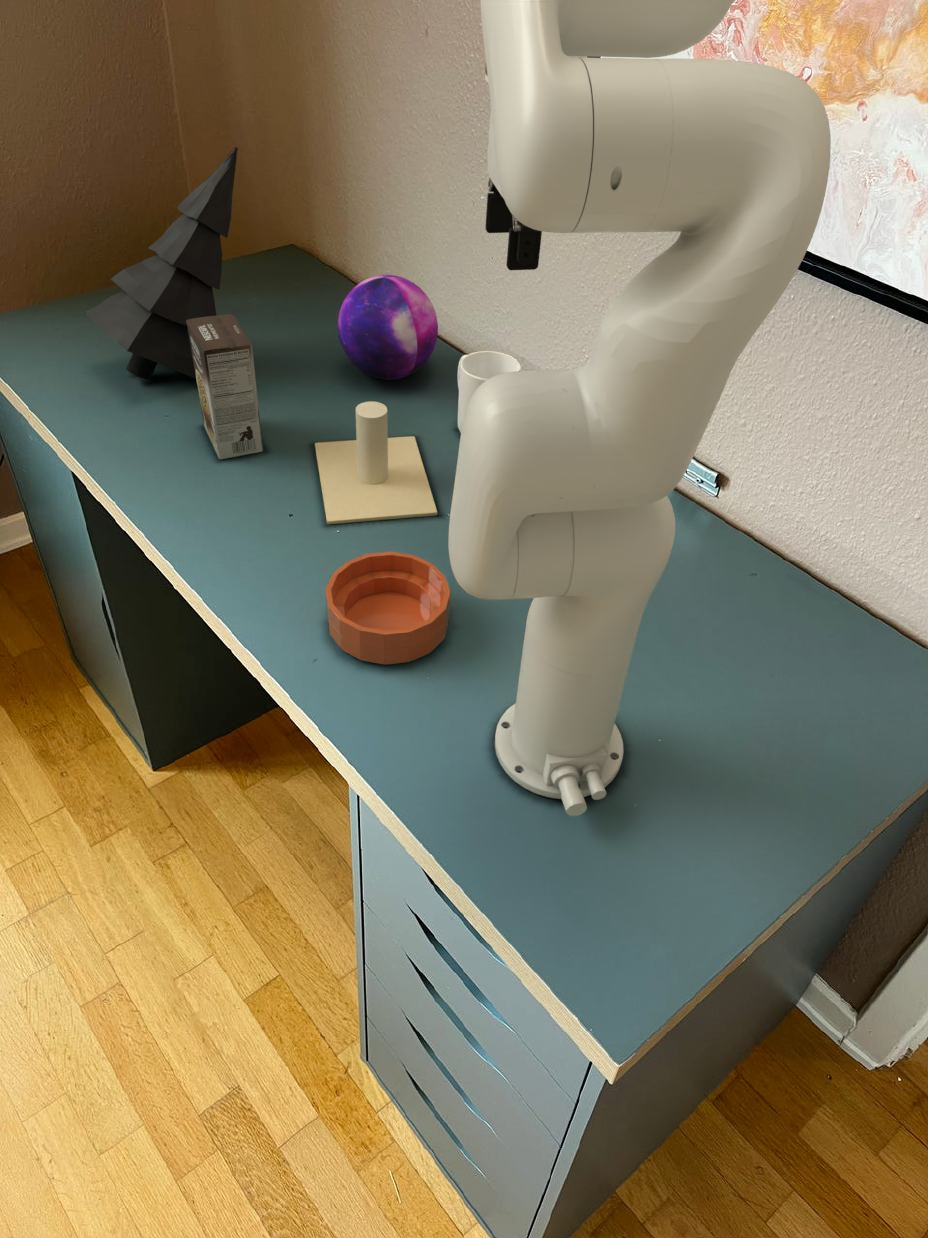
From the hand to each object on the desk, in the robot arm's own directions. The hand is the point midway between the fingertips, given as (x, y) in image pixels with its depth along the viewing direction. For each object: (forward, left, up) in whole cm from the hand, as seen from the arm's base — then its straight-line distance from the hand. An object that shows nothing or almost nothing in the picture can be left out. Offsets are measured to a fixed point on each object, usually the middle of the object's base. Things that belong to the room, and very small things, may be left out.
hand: (510, 249), depth 97 cm
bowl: (-20, +16, -33) cm, 42 cm away
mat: (+8, +14, -33) cm, 37 cm away
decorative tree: (+42, +38, -34) cm, 66 cm away
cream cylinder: (+8, +14, -33) cm, 37 cm away
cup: (+20, -3, -34) cm, 39 cm away
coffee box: (+20, +32, -34) cm, 50 cm away
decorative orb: (+36, +8, -34) cm, 50 cm away
